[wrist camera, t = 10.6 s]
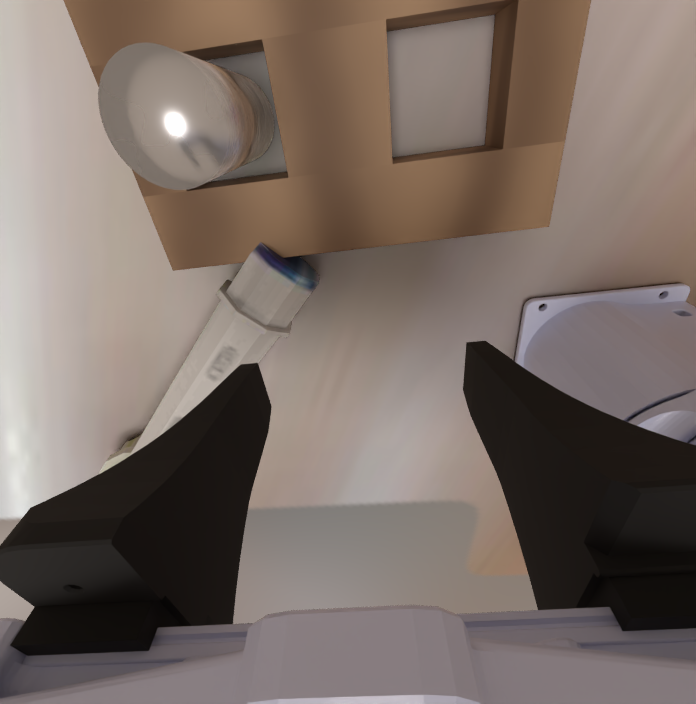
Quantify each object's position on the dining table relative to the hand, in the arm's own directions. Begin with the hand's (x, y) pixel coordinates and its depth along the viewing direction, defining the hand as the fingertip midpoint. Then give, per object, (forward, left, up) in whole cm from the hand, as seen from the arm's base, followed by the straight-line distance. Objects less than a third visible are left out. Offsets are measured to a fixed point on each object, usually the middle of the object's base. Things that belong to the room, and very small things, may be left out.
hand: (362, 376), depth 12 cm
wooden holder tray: (0, -8, -10) cm, 13 cm away
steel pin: (+5, -8, -10) cm, 14 cm away
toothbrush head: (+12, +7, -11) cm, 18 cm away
